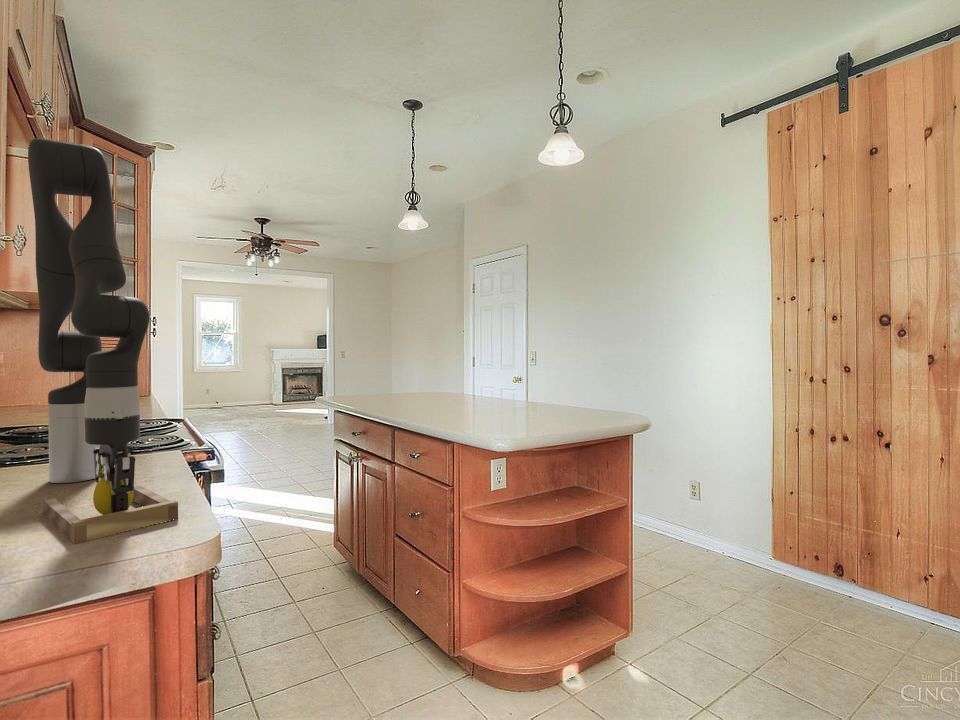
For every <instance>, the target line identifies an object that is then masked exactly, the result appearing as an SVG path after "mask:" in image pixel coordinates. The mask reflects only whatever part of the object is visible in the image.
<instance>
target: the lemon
mask: <svg viewBox="0 0 960 720" xmlns="http://www.w3.org/2000/svg"><path fill="white" fill-rule="evenodd" d="M112 476H114V475H112ZM120 485H124V482H123V480H120ZM133 497H134V490H133V491H130V493H128V509H130V507H131V505H132V503H133ZM92 499H93V505H94V508H95V510H96V511H97V512H98V513H100V514H101V515H106V514H110V513H111V494H110V485H109V483H107V482H106V481H105V477H104V478H102V479H101V480H100V481H99V482H98V483H96V485H95V487H94V490H93V496H92Z"/></svg>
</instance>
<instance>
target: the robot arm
mask: <svg viewBox="0 0 960 720" xmlns="http://www.w3.org/2000/svg"><path fill="white" fill-rule="evenodd" d="M27 164H28V173H29V175H28V176H29V182H30V190H31V196H32V197H31V198H32V204H33V212H34V213H33V214H34V221H35V222H34V226H35V227H34V228H35V233H34V234H35V272H36V273H35V275H36V283H37V294H38V302H39V303H38V305H39V306H38V307H39V311H38V312H39V320H38V344H37V345H38V349H37V351H38V352H37V353H38V362H39V364H40V367H41V368H42V369H43V370H44V371H45V372H50V373H83V375H82V377H81V378H79V379H78V380H76V381H74V382H72V383H70V384H68V385H64V386H61V387H58V388H57V387H56V388H55V389H51V390H50V391H49V392H48V394H47V401H48V402H47V403H48V404H47V407H48V408H47V409H48V410H47V411H48V413H47V415H48V417H47V418H48V420H47V421H48V476H49V477H48V479H49V480H48V481H49V483H51V484H52V483H54V484H68V483H69V484H70V483H79V482H84V481H88V480H93V479H94V481H95V483H96V484H97V483H98V482H99V481H100V480H101V479H102V478H104V477H105V481H106V482H107V483H109V485H110V494H111V513H115V512H120V511H125V510H129V508H128V493H130V491H133V489H134V483H135V470H136V469H135V466H136V457H135V456H134V455H132V454H131V451H128V443H130V442H134V441H135V442H136V441H137V440H139V439H140V437H141V413H140V412H141V407H140V406H141V405H140V403H141V401H140V400H141V399H140V394H139V393H140V392H139V387H138V384H139V383H138V382H139V378H138V377H139V373H138V371H139V369H138V365H139V359H140V354H141V350H142V346H143V344H144V340H145V336H146V334H147V331H148V328H149V325H150V316H151V315H150V311H149V308H148V306H147V305H146V304H145V302H144V301H143V300H141V299H140V298H138V297H134V296H126V295H125V296H121V295H110V294H108V293H114V292H115V291H118V290H120V289H122V288H123V287H124V286H125V285H126V282H127V275H126V272H125V271H126V270H125V267H124V264H123V260H122V256H121V253H120V249H119V246H118V240H117V234H116V233H117V232H116V225H115V215H114V212H115V211H114V204H113V202H114V201H113V195H112V187H111V180H110V179H111V178H110V174H109V168H108V165H107V161H106V158H105V156H104V154H103V153H102V151H100V149H98V148H96V147H94V146H92V145H87V144H81V143H72V142H66V141H61V140H55V139H48V138H42V137H39V138H38V137H36V138H33V139H32V140H30V142H29V144H28V150H27ZM57 195H64V196H65V195H66V196H76V197H85V198H86V197H87V198H88V197H90V201H91V202H90V205H89V208H88V210H87V211H86V213H85V214H84V216H83V217H82V219H81V220H80V221H79V223H77V225H76V226H75V228H73V226H72V225H71V224H70V223H69V221H68V220H67V219H66V217H65V216H64V214H63V213H62V211H61V209H60V207H59V205H58V204H57V202H56V196H57ZM69 315H71V316H70V319H71V320H70V321H71V324H72V326H73V327H74V329H76V330H60V329H61V327H62V325H63V323H64V322H65V320H66V319H67V317H68V316H69ZM103 337H105V338H119V340H118V343H116V345H115V347H113V348H111V349H106V350H103V349H102V348H103V347H102V340H101V338H103ZM112 475H114V476H112ZM120 480H123V482H124V485H120Z"/></svg>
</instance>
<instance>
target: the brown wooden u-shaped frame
mask: <svg viewBox="0 0 960 720" xmlns="http://www.w3.org/2000/svg"><path fill="white" fill-rule="evenodd" d="M133 490H134V497H133V501H134V502H133V501H132V502H133V503H135V502H136V503H135V504H137V503H138V504H137V505H138V506H140V505H141V506H140V507H136V508H131V509H130V508H129V509H128V510H125V511H120V512H115V513H110V514H106V515H102V514H101V515H96V516H93V517H87V518H83V519H81V518H79V517H78V516H77V515H76V514H74V512H72V511H71V510H70V509H68V508H67V507H66V506H65V505H63V504H62V503H61V502H60V501H58V500H57V499H56V498H55V497H49V498H43V499H42V500H41V501H42V515H43V516H45V517H46V519H48V520H49V521H50V522H51V523H52V525H54V526H55V525H56V526H57V527H58V528H59V529H60V530H61V531H62V532H63V533H64V534H63V533H62V532H61V531H60V530H59V529H58V528H57V527H56V526H55V527H56V528H57V529H58V530H59V531H60V532H61V533H62V534H63V535H65V537H67V539H69V540H70V541H71V543H72V544H80V543H84V542H89V541H92V540H96V539H101V538H105V537H108V536H109V535H110V536H114V535H117V534H116V533H118V534H121V533H120V532H122V533H125V532H124V531H127V532H129V531H128V530H131V531H133V530H132V529H135V530H138V529H137V528H139V529H141V528H140V527H144V528H146V527H145V526H148V527H150V526H149V525H152V526H154V525H153V524H156V523H160V524H162V523H161V522H165V521H169V520H173V519H177V520H179V501H177V500H175V499H173V500H169V499H168V498H166V497H164V496H162V495H160V494H158V493H156V492H154V491H152V490H150V489H148V488H145V487H144V486H142V485H139V484H137V483H135V482H134V489H133ZM142 506H143V507H142ZM173 521H174V520H173ZM169 522H170V521H169ZM165 523H166V522H165ZM156 525H157V524H156ZM113 534H114V535H113Z"/></svg>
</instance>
